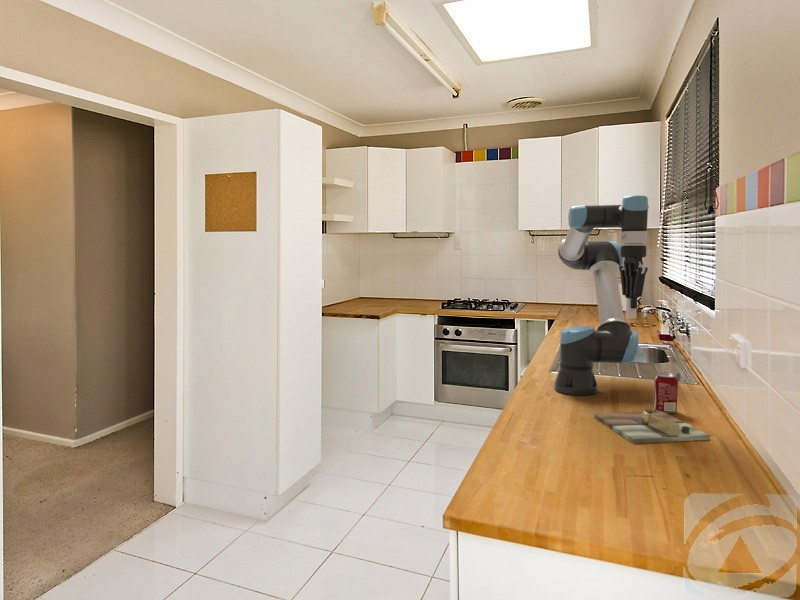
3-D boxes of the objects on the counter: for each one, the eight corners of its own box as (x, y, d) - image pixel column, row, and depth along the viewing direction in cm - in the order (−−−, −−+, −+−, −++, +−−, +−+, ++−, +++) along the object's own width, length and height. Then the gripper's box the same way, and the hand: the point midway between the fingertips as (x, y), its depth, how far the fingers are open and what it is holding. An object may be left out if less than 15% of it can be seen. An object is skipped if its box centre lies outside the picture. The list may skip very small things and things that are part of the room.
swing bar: (638, 420, 156) (638, 408, 156) (650, 419, 157) (650, 407, 156) (667, 436, 143) (668, 422, 143) (680, 435, 144) (681, 421, 143)
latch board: (594, 417, 164) (594, 409, 164) (661, 414, 166) (661, 406, 166) (633, 443, 142) (633, 433, 142) (709, 439, 145) (710, 430, 144)
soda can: (679, 415, 166) (681, 377, 165) (656, 414, 167) (657, 376, 166) (673, 408, 172) (674, 372, 171) (650, 407, 174) (652, 371, 173)
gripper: (612, 245, 176) (610, 316, 178) (633, 244, 163) (630, 321, 165) (633, 245, 176) (631, 315, 179) (656, 244, 163) (653, 320, 166)
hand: (631, 318), depth 172 cm, fingers closed
